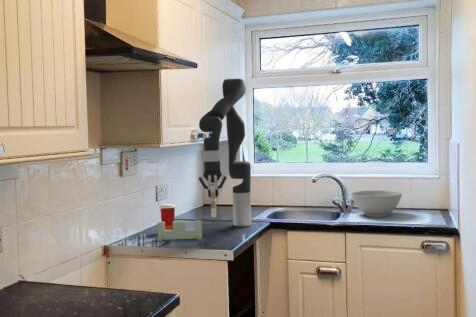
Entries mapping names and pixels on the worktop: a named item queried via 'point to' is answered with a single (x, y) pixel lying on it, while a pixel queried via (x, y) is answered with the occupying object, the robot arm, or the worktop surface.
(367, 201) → the decorative bowl
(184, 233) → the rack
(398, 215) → the worktop surface
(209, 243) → the worktop surface
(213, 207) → the beige flat panel
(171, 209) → the paper cup
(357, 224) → the worktop surface
